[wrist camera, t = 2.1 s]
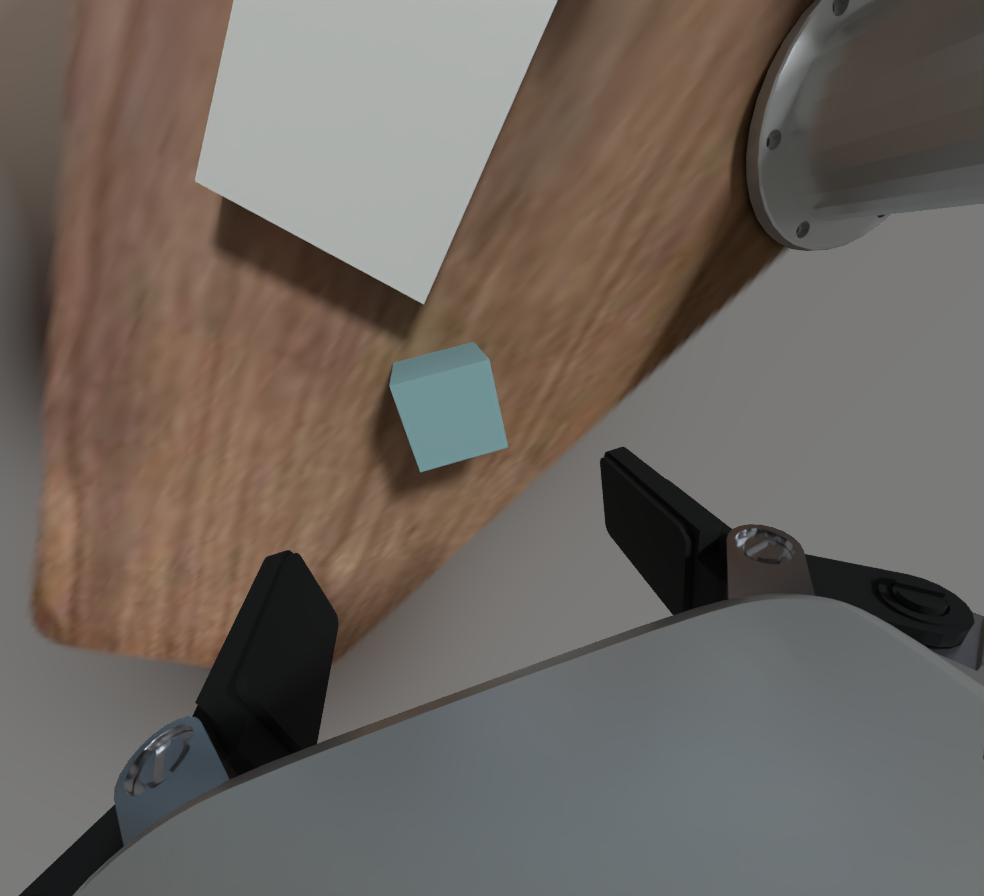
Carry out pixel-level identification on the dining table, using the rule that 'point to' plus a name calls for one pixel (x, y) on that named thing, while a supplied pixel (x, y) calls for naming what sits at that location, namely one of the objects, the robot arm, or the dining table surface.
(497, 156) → the dining table surface
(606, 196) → the dining table surface
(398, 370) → the teal cube
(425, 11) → the plate
